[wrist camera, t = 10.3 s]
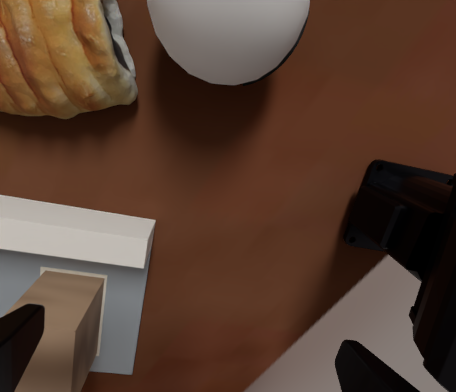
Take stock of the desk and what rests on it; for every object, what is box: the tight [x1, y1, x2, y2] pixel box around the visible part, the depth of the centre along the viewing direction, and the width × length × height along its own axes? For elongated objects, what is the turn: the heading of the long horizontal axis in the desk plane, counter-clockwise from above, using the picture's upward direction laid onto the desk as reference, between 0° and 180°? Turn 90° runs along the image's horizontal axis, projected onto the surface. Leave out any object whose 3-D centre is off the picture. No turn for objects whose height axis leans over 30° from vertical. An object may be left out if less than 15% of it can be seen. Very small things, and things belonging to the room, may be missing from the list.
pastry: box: [0, 0, 138, 119], centre depth 15 cm, size 9×7×4 cm
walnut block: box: [5, 270, 105, 392], centre depth 19 cm, size 7×4×5 cm, turn 168°
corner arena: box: [0, 195, 156, 375], centre depth 20 cm, size 14×14×3 cm
